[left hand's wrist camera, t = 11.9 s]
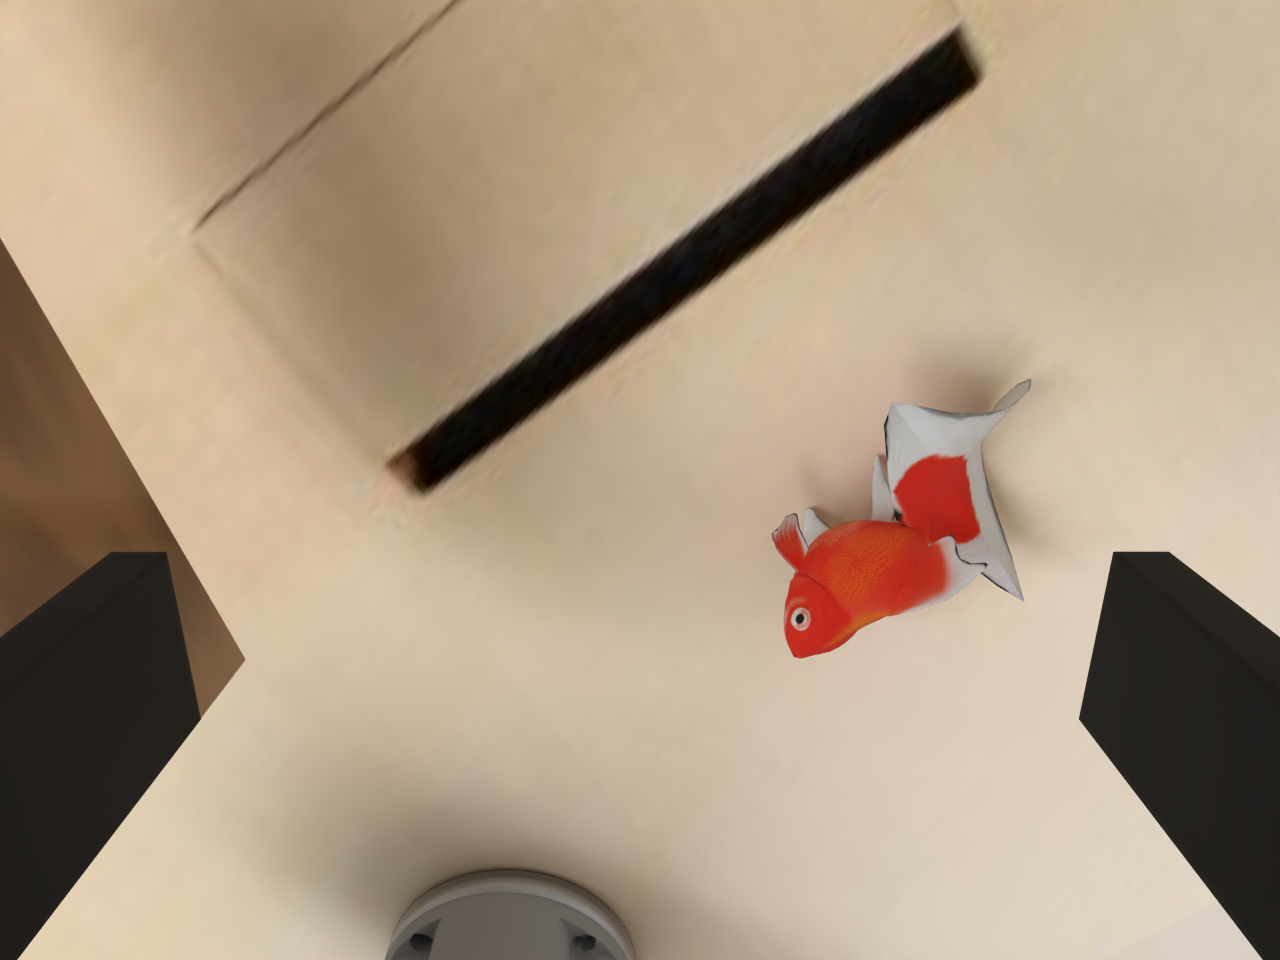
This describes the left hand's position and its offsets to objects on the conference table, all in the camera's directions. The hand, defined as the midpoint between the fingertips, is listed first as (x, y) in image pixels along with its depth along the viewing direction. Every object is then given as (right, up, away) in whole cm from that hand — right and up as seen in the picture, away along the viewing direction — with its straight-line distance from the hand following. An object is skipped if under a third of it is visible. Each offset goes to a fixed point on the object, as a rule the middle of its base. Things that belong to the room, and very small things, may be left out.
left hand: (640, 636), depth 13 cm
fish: (+12, +2, +32) cm, 34 cm away
